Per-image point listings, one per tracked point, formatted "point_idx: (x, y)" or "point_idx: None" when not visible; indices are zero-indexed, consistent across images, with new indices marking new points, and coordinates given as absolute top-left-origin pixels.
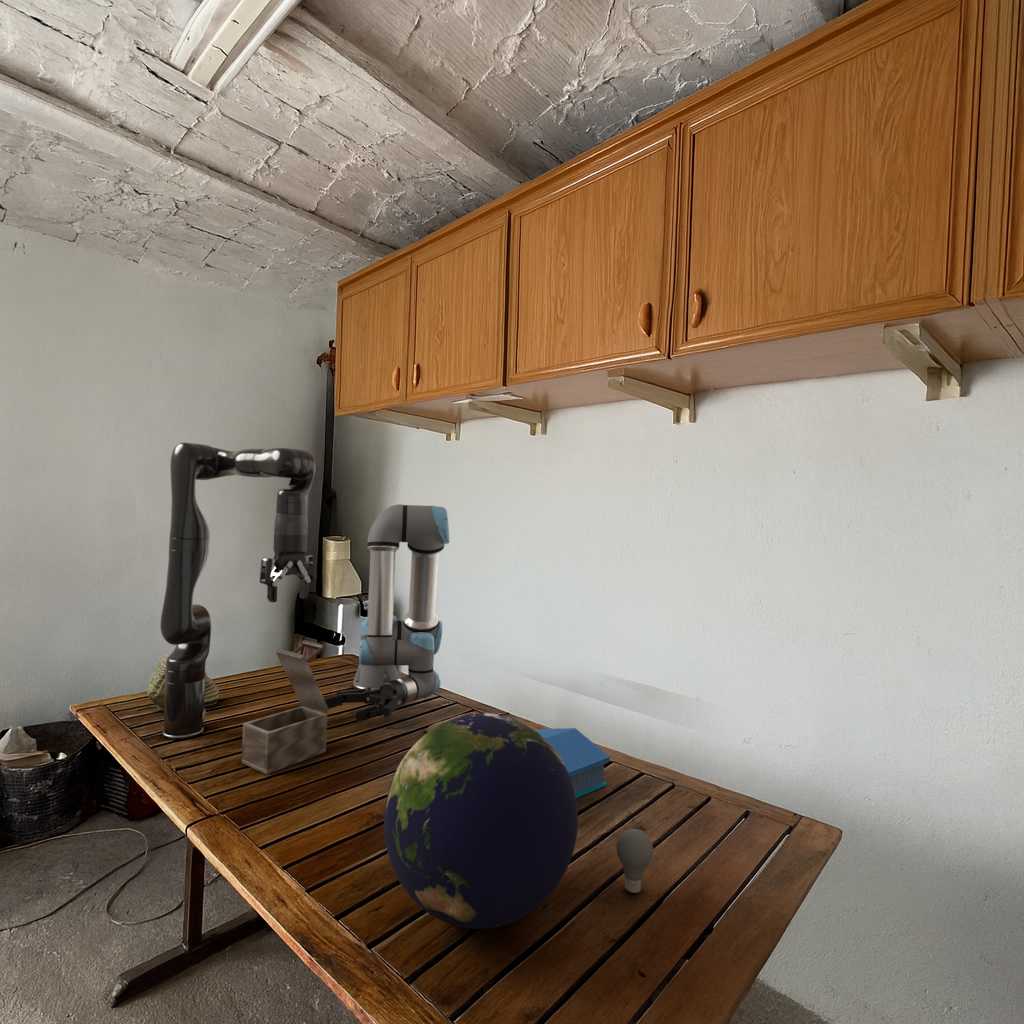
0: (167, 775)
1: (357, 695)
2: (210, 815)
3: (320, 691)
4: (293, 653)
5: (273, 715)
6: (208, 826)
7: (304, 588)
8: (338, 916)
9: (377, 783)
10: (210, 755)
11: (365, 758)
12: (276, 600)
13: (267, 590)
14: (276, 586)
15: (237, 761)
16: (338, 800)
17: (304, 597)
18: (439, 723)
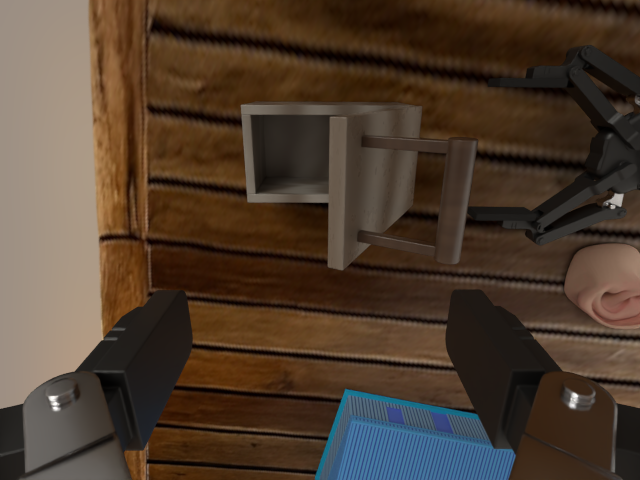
0: (129, 41)
1: (593, 109)
2: (133, 235)
3: (393, 222)
4: (340, 215)
5: (321, 112)
6: (119, 259)
7: (475, 400)
8: (149, 461)
9: (353, 327)
10: (231, 10)
11: (411, 254)
12: (185, 355)
13: (89, 356)
14: (137, 442)
15: (255, 87)
16: (282, 325)
17: (448, 348)
18: (599, 276)
